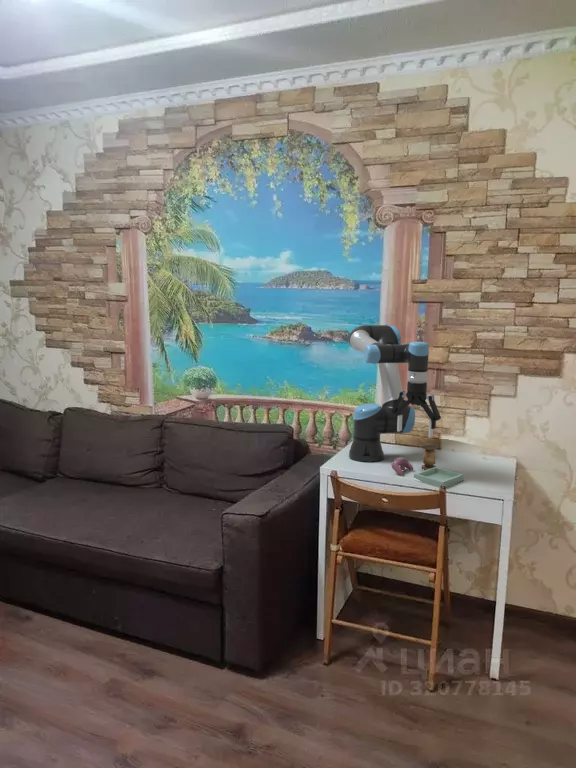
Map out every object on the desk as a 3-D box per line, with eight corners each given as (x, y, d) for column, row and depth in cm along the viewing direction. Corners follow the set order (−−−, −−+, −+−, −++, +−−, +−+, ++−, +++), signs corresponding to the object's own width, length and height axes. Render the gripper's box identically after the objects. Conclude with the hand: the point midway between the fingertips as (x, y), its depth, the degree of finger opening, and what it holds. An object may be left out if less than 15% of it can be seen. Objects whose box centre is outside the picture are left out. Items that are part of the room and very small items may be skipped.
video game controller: (405, 472, 237) (399, 456, 238) (415, 469, 234) (408, 453, 235) (394, 478, 230) (387, 462, 231) (403, 475, 227) (396, 458, 228)
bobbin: (418, 468, 237) (419, 445, 236) (427, 465, 241) (428, 442, 240) (430, 472, 233) (431, 448, 231) (439, 469, 237) (440, 445, 235)
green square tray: (413, 479, 223) (414, 473, 223) (435, 472, 232) (435, 466, 232) (442, 488, 214) (442, 482, 213) (463, 480, 223) (463, 474, 222)
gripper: (384, 379, 231) (382, 430, 235) (443, 386, 216) (440, 441, 220) (393, 376, 237) (391, 426, 241) (451, 383, 221) (448, 437, 225)
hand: (414, 433), depth 230 cm, fingers open, 13 cm apart
